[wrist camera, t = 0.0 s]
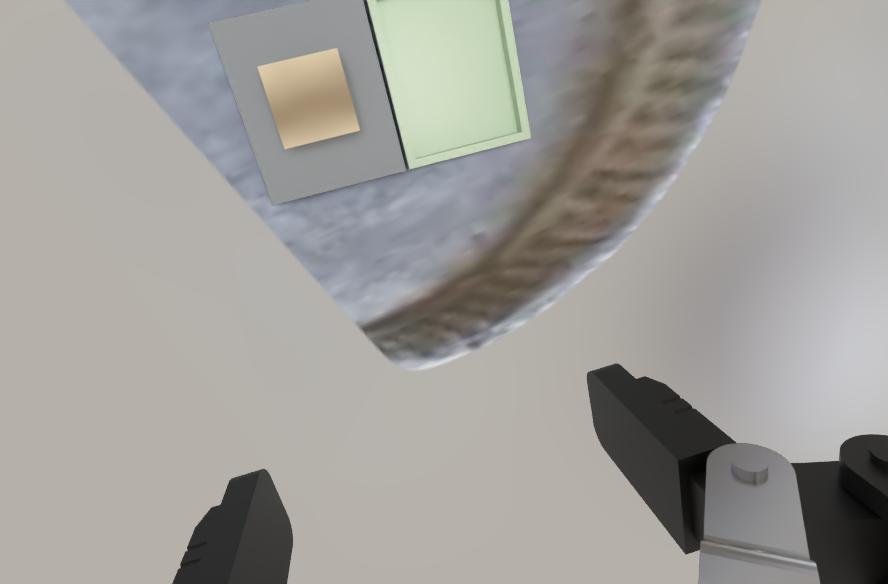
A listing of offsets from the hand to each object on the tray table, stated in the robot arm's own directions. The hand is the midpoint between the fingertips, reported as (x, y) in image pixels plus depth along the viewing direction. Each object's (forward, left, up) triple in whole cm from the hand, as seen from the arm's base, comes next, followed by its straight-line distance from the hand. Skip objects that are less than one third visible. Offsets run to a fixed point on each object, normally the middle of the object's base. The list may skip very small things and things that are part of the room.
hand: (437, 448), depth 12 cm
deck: (-10, -2, -29) cm, 31 cm away
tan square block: (-10, -2, -27) cm, 29 cm away
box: (-10, +8, -29) cm, 32 cm away
